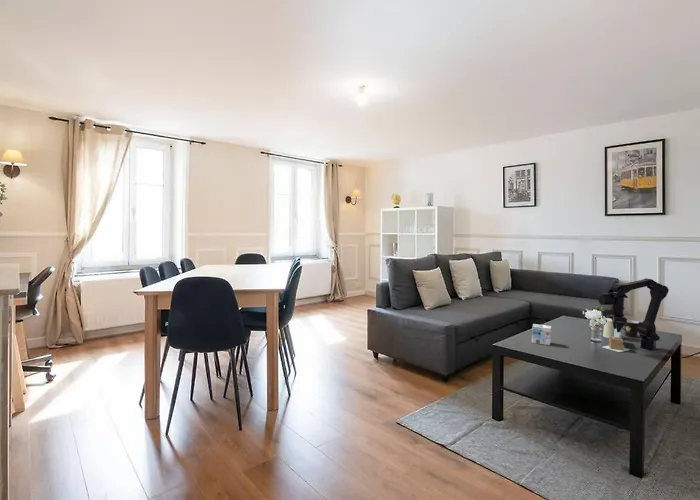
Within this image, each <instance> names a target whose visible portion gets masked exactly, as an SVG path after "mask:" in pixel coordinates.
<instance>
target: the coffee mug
mask: <svg viewBox="0 0 700 500" xmlns="http://www.w3.org/2000/svg"><path fill="white" fill-rule="evenodd" d="M639 322H640V321H639V320H631V319H627V322H626V323H625V325H624V326H623V328H622V329H621V330H623V331H624V336H625V337H628V338H635V339H636V338H637V337H638V335H639V332H638V328H637V327H638V325H639Z"/></svg>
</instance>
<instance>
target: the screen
mask: <svg viewBox="0 0 700 500" xmlns="http://www.w3.org/2000/svg"><path fill="white" fill-rule="evenodd" d="M622 336H623V335H622V333H621V331H620V332H617V329H615V330H614V337H620V338H622V339H623V337H622ZM623 348H626V346H625V345H624V344H623Z"/></svg>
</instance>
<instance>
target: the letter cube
mask: <svg viewBox="0 0 700 500" xmlns="http://www.w3.org/2000/svg"><path fill="white" fill-rule="evenodd" d="M608 345H609V347H610V349H617V350H623V345H624V340H623V337H622V338H620V337H611V336H609V338H608ZM610 349H609V350H610Z"/></svg>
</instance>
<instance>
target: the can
mask: <svg viewBox="0 0 700 500" xmlns="http://www.w3.org/2000/svg"><path fill="white" fill-rule="evenodd" d="M606 319H607V323H606V324H605V325H604V324H603V334H602V337H604V338H607V339H609V336H611V337H614V330H615V329H614V327H613V323H612V319H611V318H610V317H608V318H606Z"/></svg>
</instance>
